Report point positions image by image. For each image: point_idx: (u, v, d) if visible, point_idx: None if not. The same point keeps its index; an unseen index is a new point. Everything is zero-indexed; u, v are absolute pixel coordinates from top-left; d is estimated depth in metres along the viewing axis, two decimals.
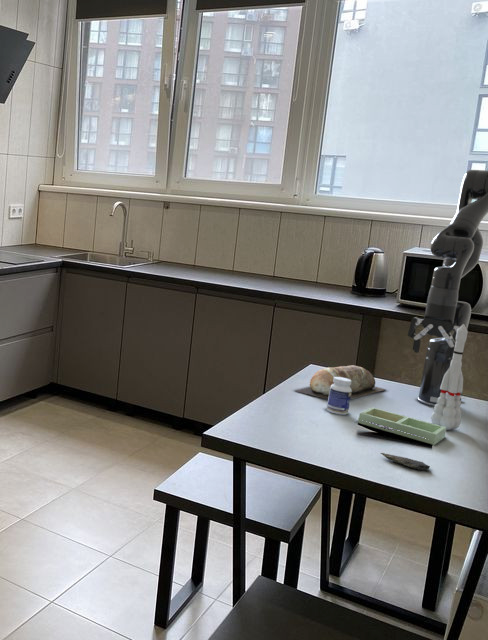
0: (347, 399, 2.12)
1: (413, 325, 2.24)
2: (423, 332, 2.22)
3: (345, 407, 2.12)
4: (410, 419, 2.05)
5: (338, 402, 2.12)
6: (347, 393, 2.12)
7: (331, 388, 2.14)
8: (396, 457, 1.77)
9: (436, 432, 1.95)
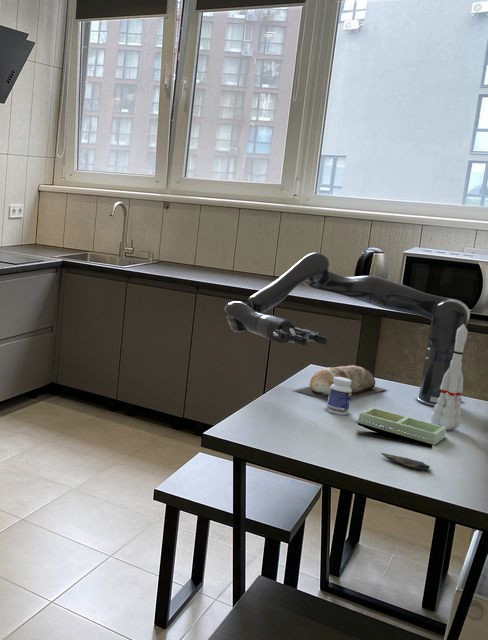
0: (347, 399, 2.12)
1: (281, 331, 2.26)
2: (292, 330, 2.26)
3: (345, 407, 2.12)
4: (410, 419, 2.05)
5: (338, 402, 2.12)
6: (347, 393, 2.12)
7: (331, 388, 2.14)
8: (396, 457, 1.77)
9: (436, 432, 1.95)
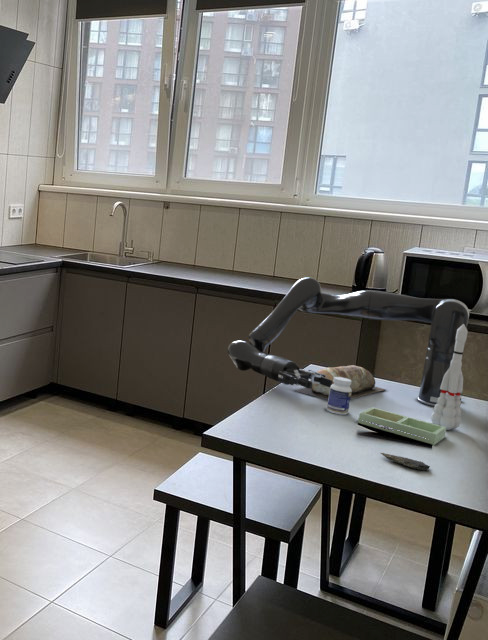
0: (347, 399, 2.12)
1: (285, 373, 2.25)
2: (297, 373, 2.25)
3: (345, 407, 2.12)
4: (410, 419, 2.05)
5: (338, 402, 2.12)
6: (347, 393, 2.12)
7: (331, 388, 2.14)
8: (396, 457, 1.77)
9: (436, 432, 1.95)
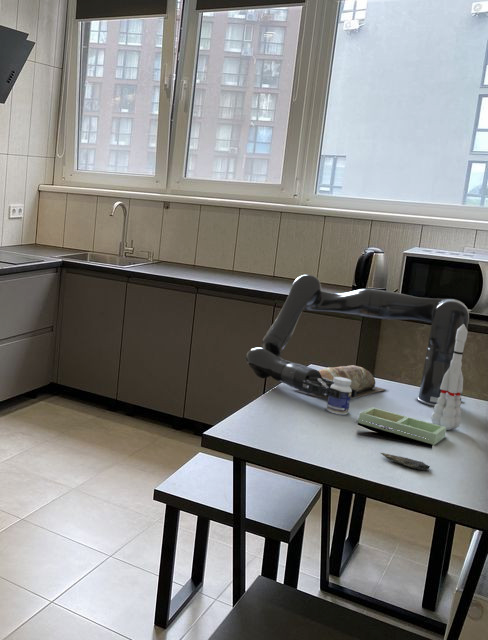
0: (347, 399, 2.12)
1: (311, 383, 2.17)
2: (322, 382, 2.17)
3: (345, 407, 2.12)
4: (410, 419, 2.05)
5: (338, 402, 2.12)
6: (347, 393, 2.12)
7: None
8: (396, 457, 1.77)
9: (436, 432, 1.95)
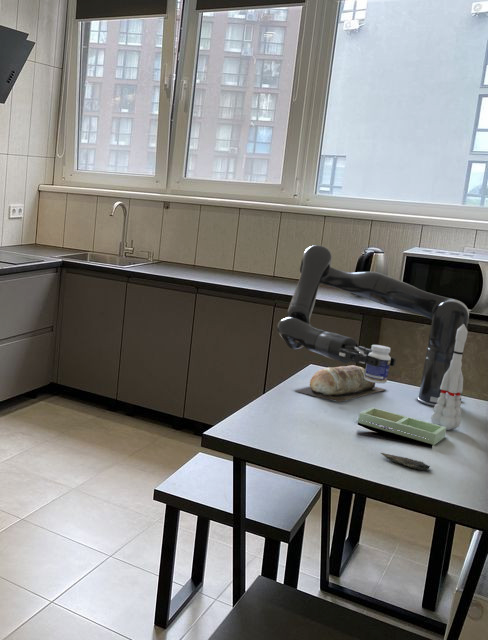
0: (386, 367, 2.04)
1: (348, 351, 2.09)
2: (360, 350, 2.09)
3: (384, 376, 2.05)
4: (410, 419, 2.05)
5: (376, 370, 2.05)
6: (387, 361, 2.04)
7: None
8: (396, 457, 1.77)
9: (436, 432, 1.95)
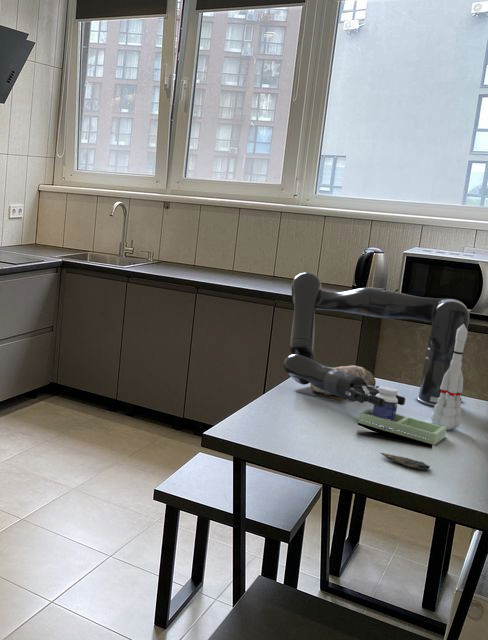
0: (394, 410, 2.03)
1: (354, 390, 2.08)
2: (366, 389, 2.08)
3: (391, 418, 2.04)
4: (410, 419, 2.05)
5: (383, 412, 2.04)
6: (394, 403, 2.03)
7: None
8: (396, 457, 1.77)
9: (436, 432, 1.95)
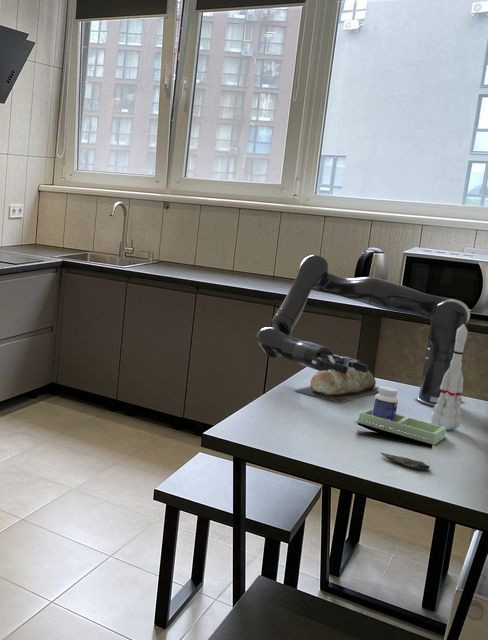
0: (394, 410, 2.03)
1: (320, 359, 2.19)
2: (331, 358, 2.19)
3: (391, 418, 2.04)
4: (410, 419, 2.05)
5: (383, 412, 2.04)
6: (394, 403, 2.03)
7: (376, 398, 2.05)
8: (396, 457, 1.77)
9: (436, 432, 1.95)
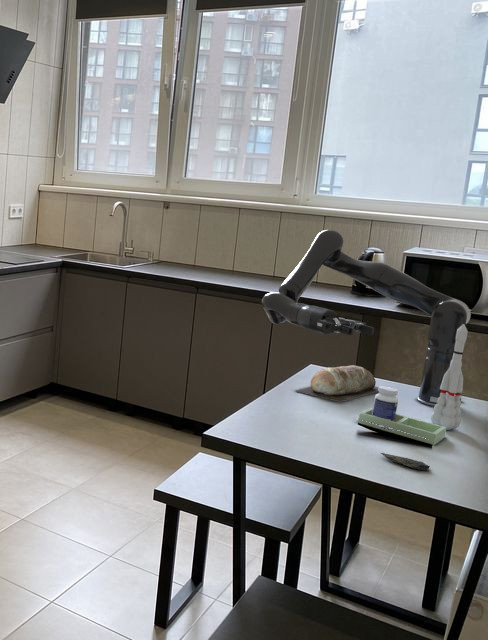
0: (394, 410, 2.03)
1: (325, 321, 2.17)
2: (337, 320, 2.17)
3: (391, 418, 2.04)
4: (410, 419, 2.05)
5: (383, 412, 2.04)
6: (394, 403, 2.03)
7: (376, 398, 2.05)
8: (396, 457, 1.77)
9: (436, 432, 1.95)
